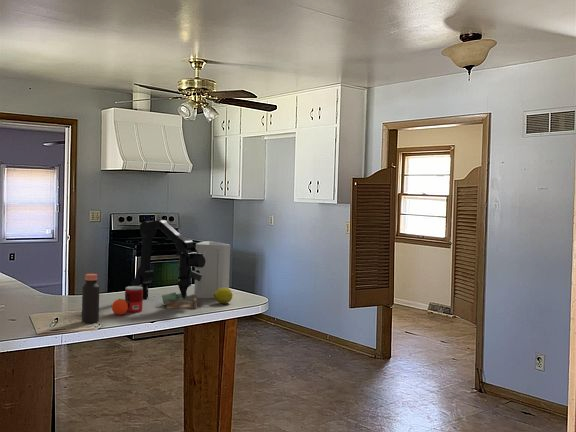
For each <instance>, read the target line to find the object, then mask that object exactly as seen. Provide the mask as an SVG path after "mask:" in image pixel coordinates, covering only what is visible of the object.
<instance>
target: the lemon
mask: <svg viewBox="0 0 576 432" xmlns="http://www.w3.org/2000/svg"><path fill="white" fill-rule="evenodd" d="M213 296H214V298H213V299H215V301H217V303H220V304H224V305H225V304H228V303H229V302H231V301H232V299H233V292H232V290H231V289H230V288H229V289H228V288H220V289H218V290H217V291H216V292H215V293H214V295H213Z"/></svg>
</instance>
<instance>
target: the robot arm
mask: <svg viewBox="0 0 576 432" xmlns="http://www.w3.org/2000/svg"><path fill="white" fill-rule="evenodd" d="M157 230H160V231H161V232H162V233H164V234H165V236H167V237H168V238H169V239H170V240H171V241H172V242H173V243H174V246H175V247H176V249H177V250H178V251H177V252H176V253H175V257H176V256H177V257H178V258H179V260H178V275H177V286H178V289H179V291H180V293H181V295H182V297H183V298H182V299H186V297H185V296H186V293H187V291H188V288H189V287H190V286H192V279H193V280H194V281H195V280H197V281H200V280H201V278H202V274H200V271H199V270H196V271H195V270H192V267H193V268H195V267H199V268H202V267H204V265H205V262H206V260H205V258H204V256H203V253H198V252H197V250H196V245H195V244H194V241H193V240H192V239H190V238H189V237H187V236H184V235H182V234H181V233H179V232H178V231H177V230H176V229H175V228H174V227H172V225H170V224H169V223H168V221H167V220H166V219H157V220H146V221H141V223H140V224H139V234H140V235H141V238H142V240H141V251H140V263H139V264H140V265H139V266H138V268H137V270H136V272H135V278H134V279H132V281H131V282H130V285H131V286H141V287H143V300H147V299H148V298H149V288H148V287H150V286H151V283H152V281H153V280H154V274H155V271H154V270H152V268H151V259H152V251H153V250H152V249H153V247H152V246H153V239H154V238H155V236H156V234H157Z"/></svg>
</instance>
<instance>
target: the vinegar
mask: <svg viewBox="0 0 576 432" xmlns="http://www.w3.org/2000/svg"><path fill="white" fill-rule="evenodd" d="M84 281H85V282H84V284H83V285H82V294H81V295H82V296H81V323H83V322H85V323H84V324H96V323H98V322H99V321H100V320H99V318H100V285H99V284H98V274H97V273H86V274H85V275H84Z"/></svg>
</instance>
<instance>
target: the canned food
mask: <svg viewBox="0 0 576 432" xmlns="http://www.w3.org/2000/svg"><path fill="white" fill-rule="evenodd" d="M124 291H125V292H124V299H125V301H126V300H127V301H128V302H127V301H126V302H127V304H128V303H129V304H128V309H127V311H126V312H125V313H127V314H128V313H129V314H130V313H131V314H133V313H134V314H135V312H137V313H141V312H142V311H143V300H144V299H143V287H141V286H130V285H128V286H126V287H125V290H124Z"/></svg>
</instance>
